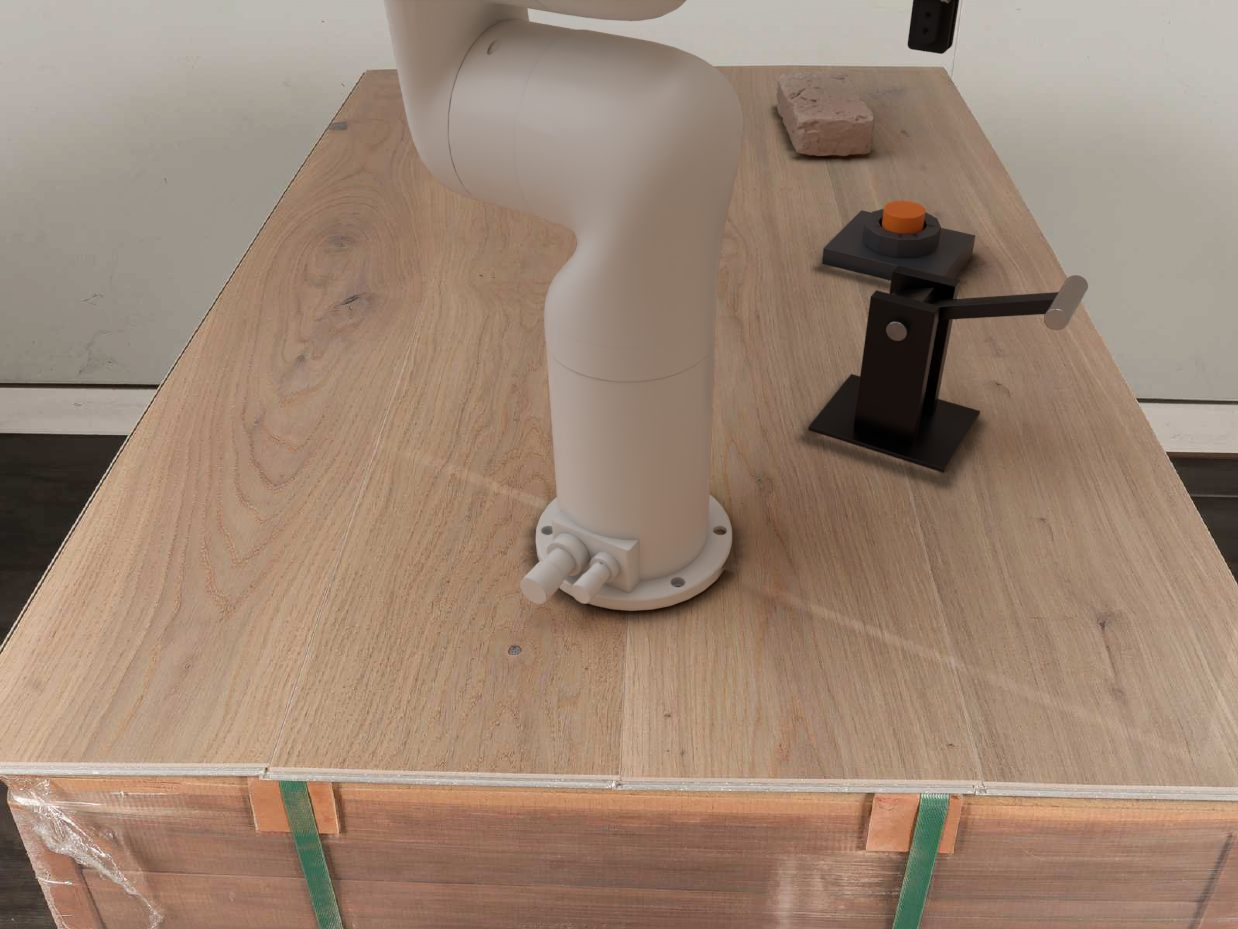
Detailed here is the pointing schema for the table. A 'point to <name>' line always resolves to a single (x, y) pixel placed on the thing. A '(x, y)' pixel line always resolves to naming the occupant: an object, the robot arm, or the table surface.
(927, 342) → the bracket
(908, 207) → the button
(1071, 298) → the lever
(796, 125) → the brick
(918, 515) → the table surface
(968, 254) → the button box
